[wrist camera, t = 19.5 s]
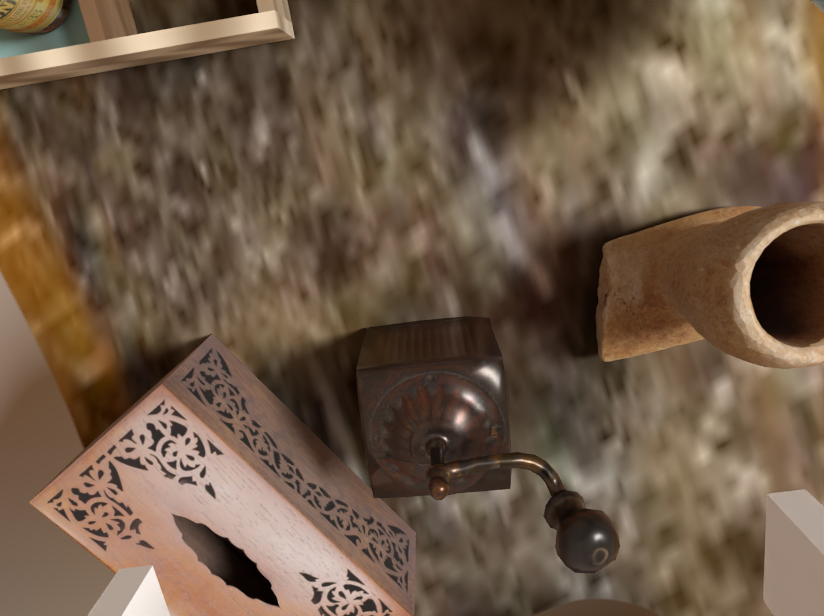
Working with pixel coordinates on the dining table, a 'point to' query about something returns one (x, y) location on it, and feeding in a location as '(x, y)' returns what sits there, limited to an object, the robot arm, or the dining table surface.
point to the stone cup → (719, 286)
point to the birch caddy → (127, 41)
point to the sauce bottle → (32, 15)
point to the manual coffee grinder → (458, 428)
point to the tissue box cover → (233, 503)
